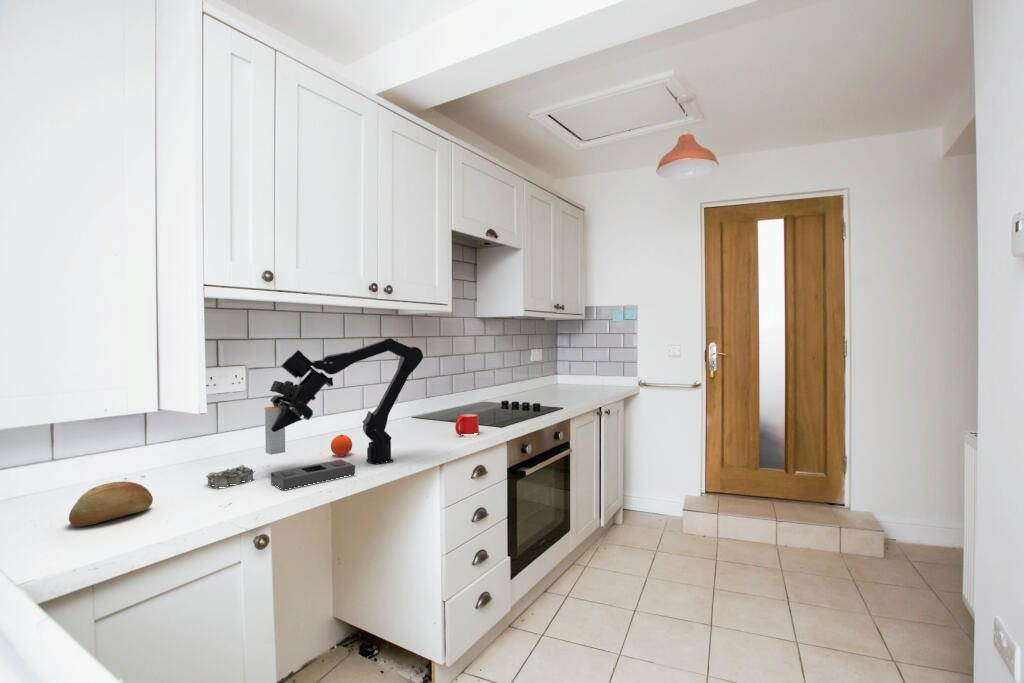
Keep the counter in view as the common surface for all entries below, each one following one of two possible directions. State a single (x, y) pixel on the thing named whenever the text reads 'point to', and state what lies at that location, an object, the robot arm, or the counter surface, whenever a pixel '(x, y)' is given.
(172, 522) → the counter surface
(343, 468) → the rack rail
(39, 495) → the counter surface
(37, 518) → the counter surface
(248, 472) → the egg carton
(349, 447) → the clementine
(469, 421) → the mug
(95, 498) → the bread roll
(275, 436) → the square bar
